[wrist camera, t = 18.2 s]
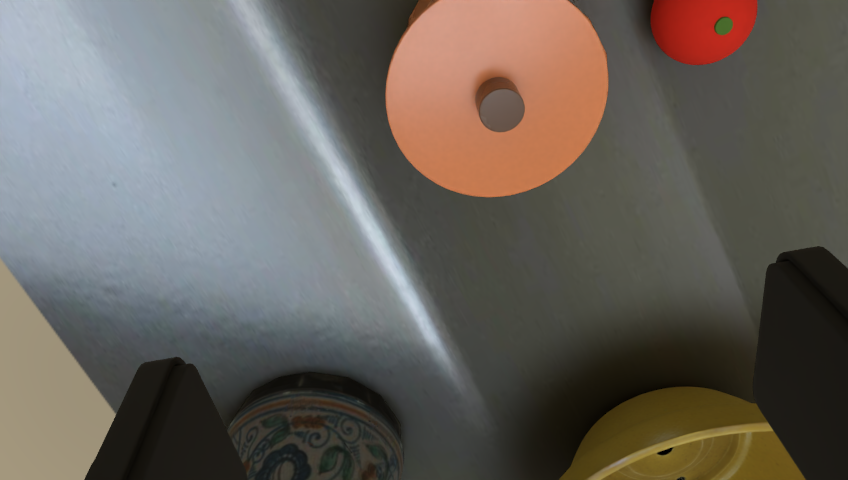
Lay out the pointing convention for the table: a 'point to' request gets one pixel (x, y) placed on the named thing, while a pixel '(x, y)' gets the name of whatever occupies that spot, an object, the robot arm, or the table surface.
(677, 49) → the tomato
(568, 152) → the pot lid
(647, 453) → the planter bowl
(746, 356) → the table surface
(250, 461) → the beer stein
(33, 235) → the table surface
